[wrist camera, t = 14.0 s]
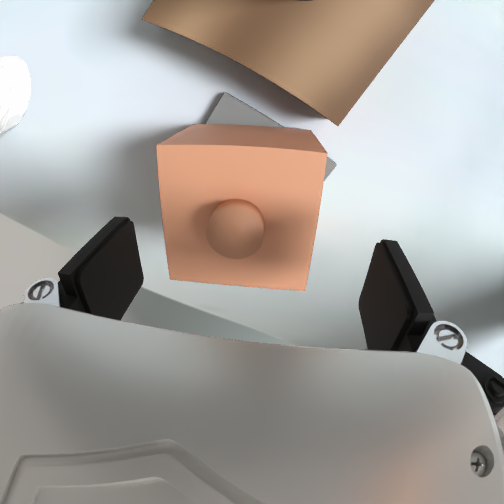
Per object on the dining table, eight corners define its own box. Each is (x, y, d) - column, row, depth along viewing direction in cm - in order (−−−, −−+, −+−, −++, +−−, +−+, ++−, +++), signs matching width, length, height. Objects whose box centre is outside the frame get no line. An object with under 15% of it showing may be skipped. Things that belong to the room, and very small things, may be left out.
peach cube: (298, 233, 20) (306, 304, 14) (196, 226, 20) (164, 291, 14) (310, 130, 16) (331, 159, 10) (193, 124, 16) (147, 150, 10)
